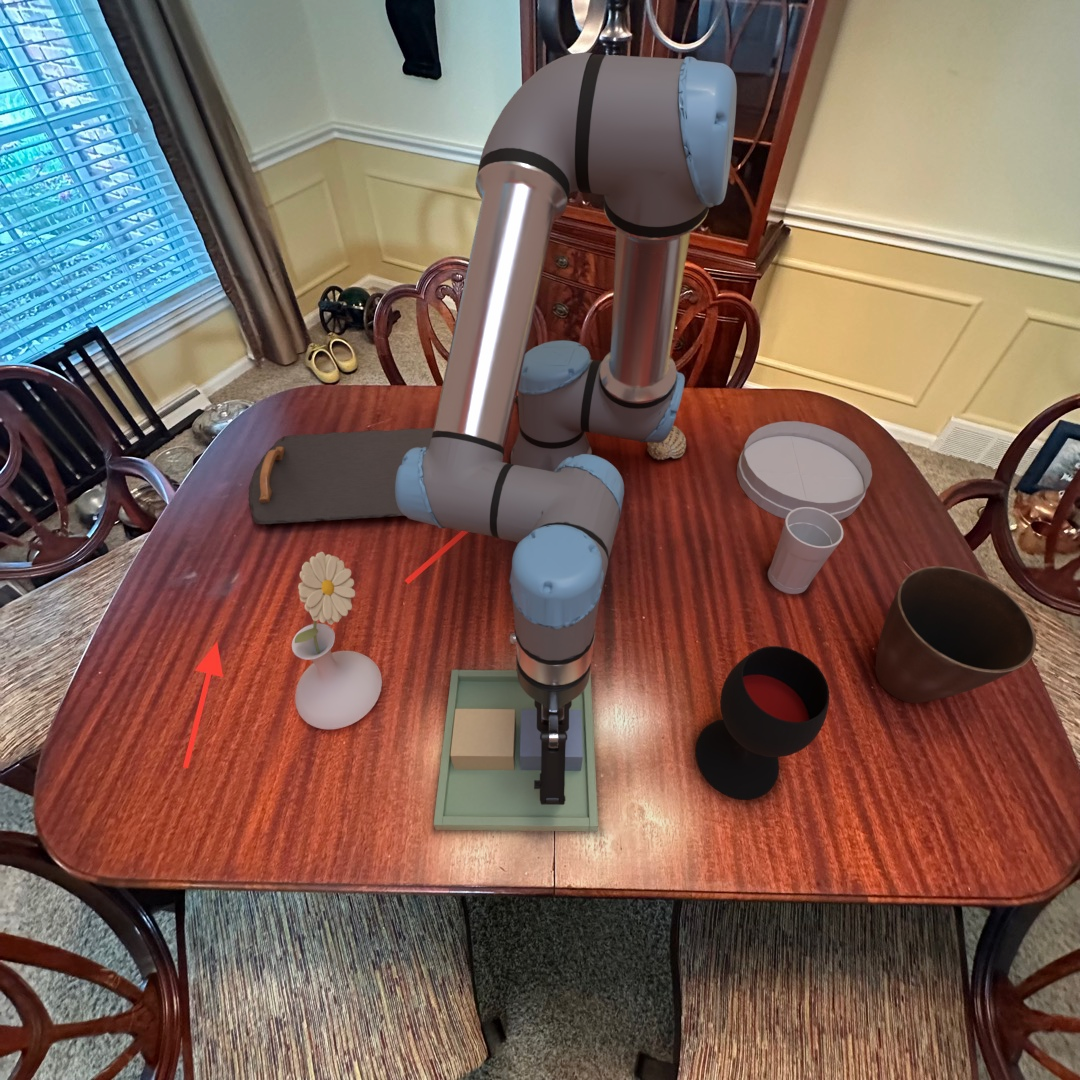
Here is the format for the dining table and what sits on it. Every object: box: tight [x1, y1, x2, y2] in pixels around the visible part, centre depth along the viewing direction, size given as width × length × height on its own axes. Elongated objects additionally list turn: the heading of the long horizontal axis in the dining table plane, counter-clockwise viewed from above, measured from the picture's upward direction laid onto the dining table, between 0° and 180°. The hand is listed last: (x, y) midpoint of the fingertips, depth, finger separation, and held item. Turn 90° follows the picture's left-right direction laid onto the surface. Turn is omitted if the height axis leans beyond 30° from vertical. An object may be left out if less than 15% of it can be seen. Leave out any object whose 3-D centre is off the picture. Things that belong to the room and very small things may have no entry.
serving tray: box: [248, 427, 433, 528], centre depth 107 cm, size 39×23×6 cm, turn 95°
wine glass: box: [695, 645, 830, 801], centre depth 69 cm, size 10×10×20 cm
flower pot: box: [875, 565, 1037, 704], centre depth 77 cm, size 15×15×16 cm
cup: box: [767, 507, 844, 595], centre depth 91 cm, size 8×8×12 cm
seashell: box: [646, 425, 687, 461], centre depth 114 cm, size 8×6×10 cm
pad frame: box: [433, 669, 599, 832], centre depth 76 cm, size 19×20×2 cm
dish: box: [736, 420, 873, 522], centre depth 108 cm, size 22×22×5 cm
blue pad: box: [520, 709, 583, 771], centre depth 75 cm, size 8×6×4 cm
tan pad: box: [450, 709, 516, 770], centre depth 75 cm, size 8×6×4 cm
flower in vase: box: [291, 551, 383, 730], centre depth 73 cm, size 13×11×25 cm
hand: (551, 740), depth 76 cm, fingers open, 13 cm apart
